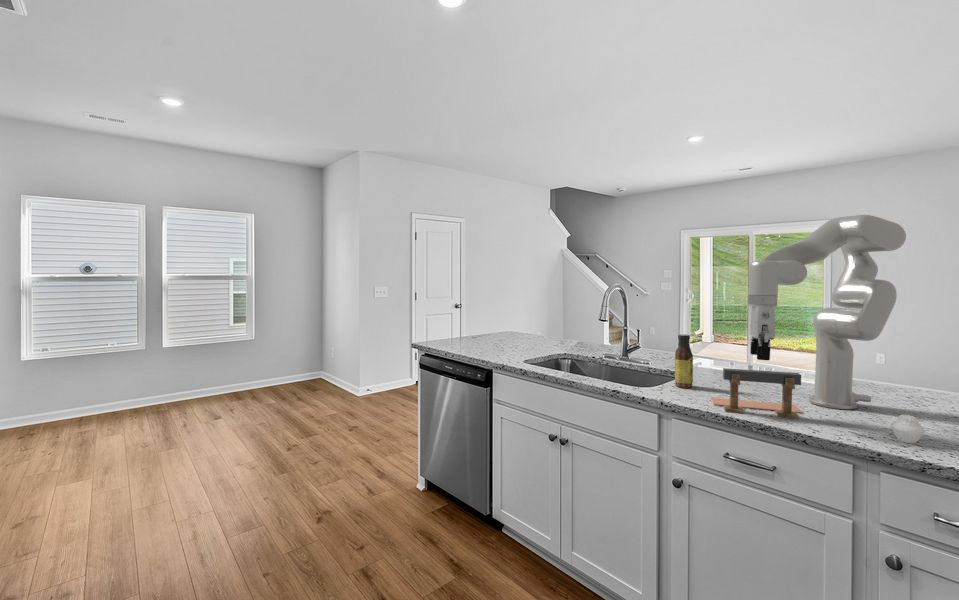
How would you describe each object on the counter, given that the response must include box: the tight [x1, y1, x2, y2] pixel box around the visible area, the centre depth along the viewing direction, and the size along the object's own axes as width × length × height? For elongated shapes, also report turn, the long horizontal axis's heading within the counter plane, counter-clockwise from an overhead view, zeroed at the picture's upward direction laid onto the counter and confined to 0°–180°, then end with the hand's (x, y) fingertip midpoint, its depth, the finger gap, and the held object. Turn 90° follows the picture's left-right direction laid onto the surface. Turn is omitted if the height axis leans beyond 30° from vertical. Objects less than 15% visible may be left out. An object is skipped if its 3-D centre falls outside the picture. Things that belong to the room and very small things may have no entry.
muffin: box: [890, 414, 925, 445], centre depth 113 cm, size 6×6×7 cm
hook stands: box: [723, 374, 799, 419], centre depth 136 cm, size 19×6×12 cm, turn 68°
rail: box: [722, 367, 802, 386], centre depth 136 cm, size 20×3×3 cm, turn 68°
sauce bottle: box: [674, 333, 694, 389], centre depth 168 cm, size 7×6×20 cm
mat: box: [711, 397, 803, 414], centre depth 144 cm, size 24×8×1 cm, turn 68°
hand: (759, 357), depth 135 cm, fingers open, 9 cm apart
